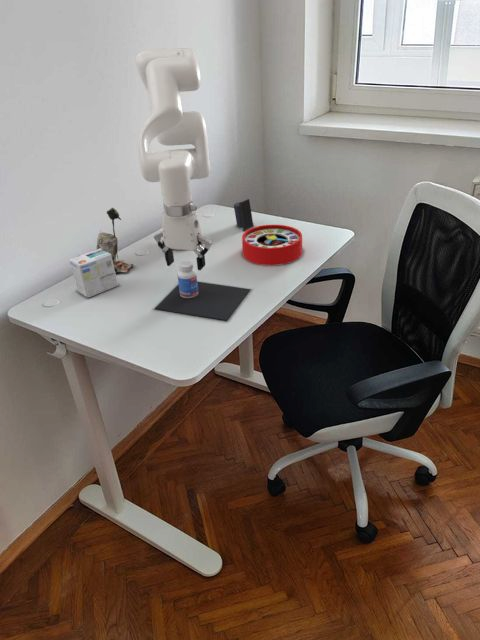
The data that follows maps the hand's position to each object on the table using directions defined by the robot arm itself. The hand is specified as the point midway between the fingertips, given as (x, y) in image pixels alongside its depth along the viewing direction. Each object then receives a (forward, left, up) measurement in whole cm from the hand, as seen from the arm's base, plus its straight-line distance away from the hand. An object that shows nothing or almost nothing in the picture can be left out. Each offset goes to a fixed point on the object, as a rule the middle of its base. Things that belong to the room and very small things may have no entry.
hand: (185, 266), depth 148 cm
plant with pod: (-31, +9, -10) cm, 33 cm away
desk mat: (+5, -1, -9) cm, 11 cm away
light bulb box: (-29, -4, -10) cm, 31 cm away
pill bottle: (0, 0, -9) cm, 9 cm away
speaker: (-4, +54, -10) cm, 54 cm away
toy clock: (+14, +35, -10) cm, 39 cm away
